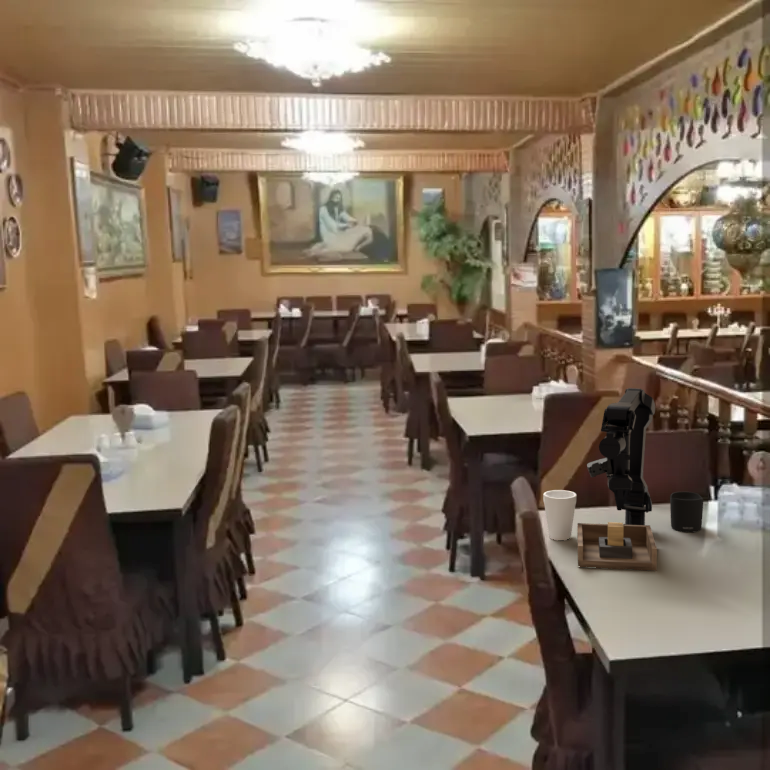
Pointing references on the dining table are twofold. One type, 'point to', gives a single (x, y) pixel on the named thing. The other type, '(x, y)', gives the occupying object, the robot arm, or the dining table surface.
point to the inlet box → (616, 548)
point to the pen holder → (686, 511)
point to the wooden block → (615, 534)
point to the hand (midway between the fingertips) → (618, 505)
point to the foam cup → (559, 513)
